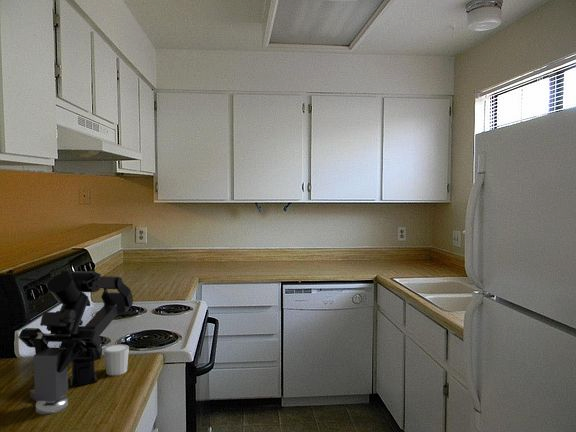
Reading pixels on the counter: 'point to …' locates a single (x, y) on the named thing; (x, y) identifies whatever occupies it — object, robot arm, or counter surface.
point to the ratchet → (49, 404)
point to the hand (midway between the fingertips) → (47, 371)
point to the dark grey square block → (49, 375)
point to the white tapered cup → (116, 359)
